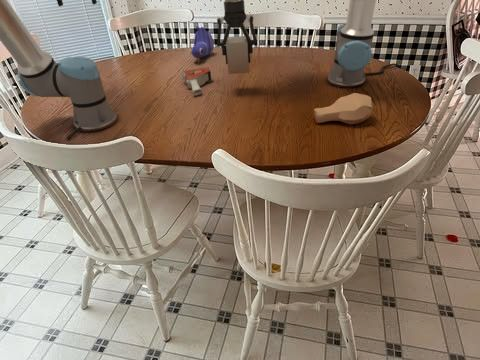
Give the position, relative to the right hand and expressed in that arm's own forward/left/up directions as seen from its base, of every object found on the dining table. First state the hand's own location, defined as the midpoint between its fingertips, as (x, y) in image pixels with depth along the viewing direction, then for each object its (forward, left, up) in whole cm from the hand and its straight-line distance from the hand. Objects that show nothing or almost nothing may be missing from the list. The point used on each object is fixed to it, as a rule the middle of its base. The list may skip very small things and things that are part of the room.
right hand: (238, 62), depth 143 cm
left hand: (+55, -30, +23) cm, 67 cm away
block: (0, 0, -3) cm, 3 cm away
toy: (+3, -53, -12) cm, 54 cm away
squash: (-24, +41, -12) cm, 49 cm away
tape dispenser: (+16, -15, -12) cm, 25 cm away
